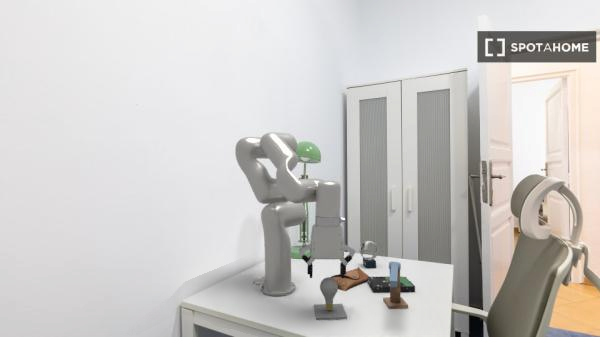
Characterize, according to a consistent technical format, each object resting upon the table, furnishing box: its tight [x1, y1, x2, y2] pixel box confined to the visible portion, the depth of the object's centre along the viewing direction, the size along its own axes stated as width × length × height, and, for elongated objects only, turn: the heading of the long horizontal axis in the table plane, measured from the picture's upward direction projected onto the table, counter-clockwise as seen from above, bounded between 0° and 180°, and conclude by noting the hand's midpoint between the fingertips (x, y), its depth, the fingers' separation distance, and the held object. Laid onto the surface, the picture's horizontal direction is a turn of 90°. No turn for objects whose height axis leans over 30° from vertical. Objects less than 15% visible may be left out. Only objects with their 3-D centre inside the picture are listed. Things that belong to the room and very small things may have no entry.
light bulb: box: [319, 276, 339, 311], centre depth 95 cm, size 6×6×10 cm
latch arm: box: [388, 261, 402, 287], centre depth 93 cm, size 18×4×2 cm, turn 162°
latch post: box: [382, 269, 409, 310], centre depth 100 cm, size 6×6×11 cm
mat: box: [313, 303, 348, 321], centre depth 95 cm, size 9×9×1 cm
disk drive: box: [366, 275, 416, 294], centre depth 114 cm, size 10×3×15 cm
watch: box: [359, 240, 379, 270], centre depth 138 cm, size 6×8×11 cm
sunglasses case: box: [329, 266, 370, 292], centre depth 120 cm, size 18×7×7 cm
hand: (326, 276), depth 96 cm, fingers open, 9 cm apart
